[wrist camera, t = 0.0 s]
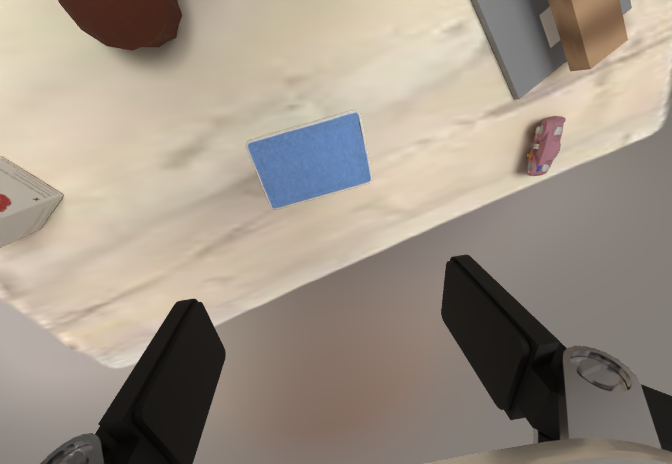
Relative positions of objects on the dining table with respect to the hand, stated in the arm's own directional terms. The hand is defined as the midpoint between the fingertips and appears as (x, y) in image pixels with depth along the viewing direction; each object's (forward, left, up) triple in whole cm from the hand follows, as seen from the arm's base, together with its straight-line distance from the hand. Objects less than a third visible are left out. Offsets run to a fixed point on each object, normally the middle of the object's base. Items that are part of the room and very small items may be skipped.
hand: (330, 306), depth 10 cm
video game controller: (+27, +30, -38) cm, 55 cm away
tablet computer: (+2, -2, -38) cm, 38 cm away
